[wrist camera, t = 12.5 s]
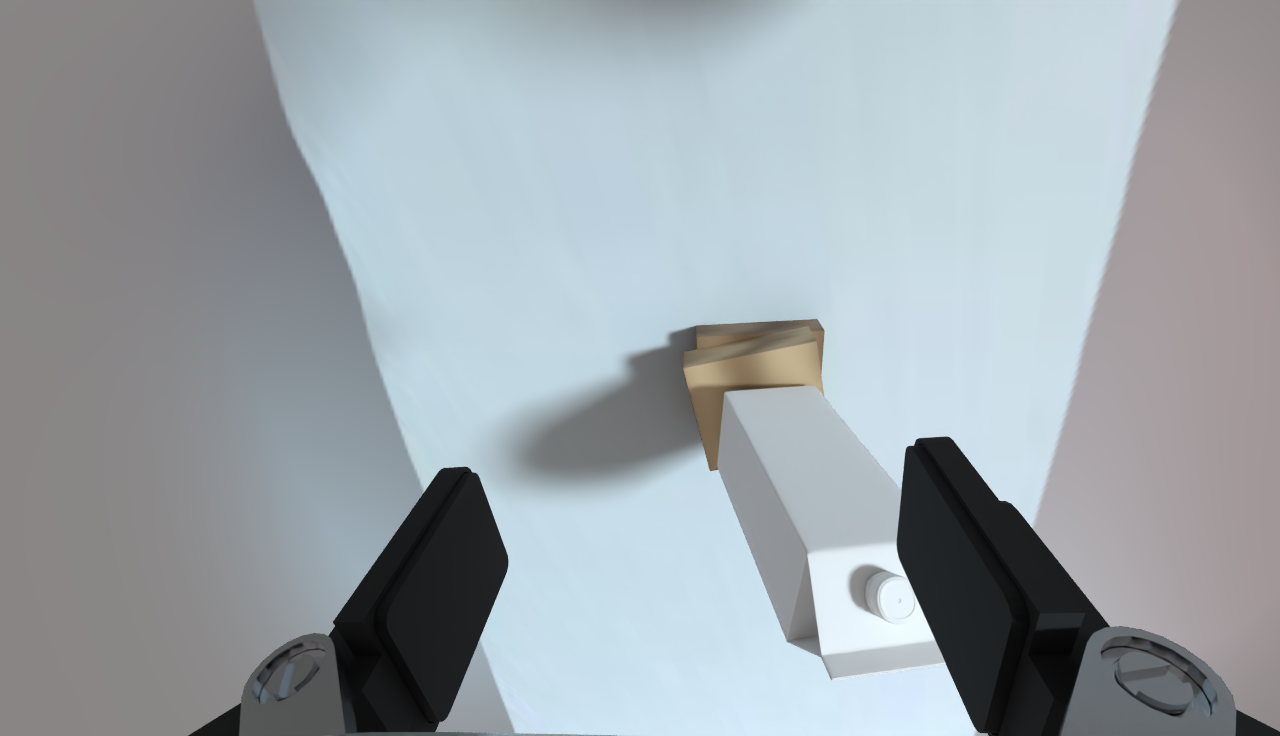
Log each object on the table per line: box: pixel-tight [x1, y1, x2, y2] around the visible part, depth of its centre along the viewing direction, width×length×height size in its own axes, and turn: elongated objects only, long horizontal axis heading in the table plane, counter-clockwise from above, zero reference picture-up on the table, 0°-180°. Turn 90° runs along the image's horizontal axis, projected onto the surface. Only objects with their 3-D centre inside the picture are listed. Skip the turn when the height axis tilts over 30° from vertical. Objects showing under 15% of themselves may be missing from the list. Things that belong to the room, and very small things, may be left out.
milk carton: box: [717, 386, 946, 681], centre depth 31 cm, size 7×7×19 cm
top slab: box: [683, 326, 824, 471], centre depth 42 cm, size 10×10×3 cm
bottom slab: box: [696, 319, 824, 440], centre depth 44 cm, size 10×10×3 cm
